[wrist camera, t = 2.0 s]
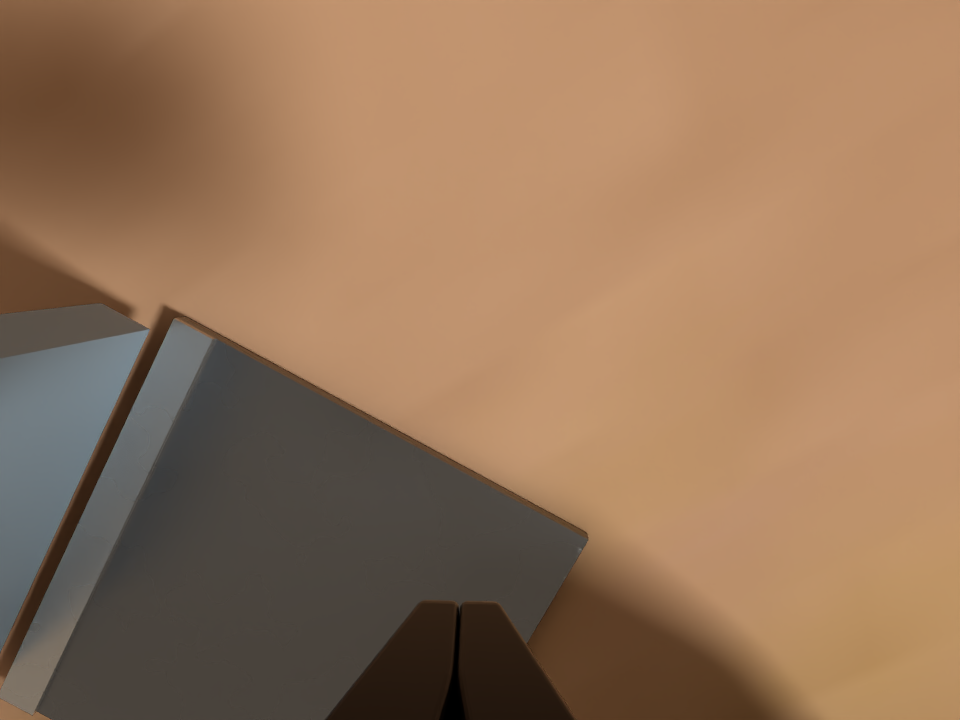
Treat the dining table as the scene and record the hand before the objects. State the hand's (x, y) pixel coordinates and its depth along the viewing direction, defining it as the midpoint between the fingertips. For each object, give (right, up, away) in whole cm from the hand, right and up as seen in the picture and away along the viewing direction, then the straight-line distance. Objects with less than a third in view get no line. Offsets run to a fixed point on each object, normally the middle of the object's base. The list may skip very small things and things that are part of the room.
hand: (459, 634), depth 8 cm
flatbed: (-6, -5, +14) cm, 16 cm away
